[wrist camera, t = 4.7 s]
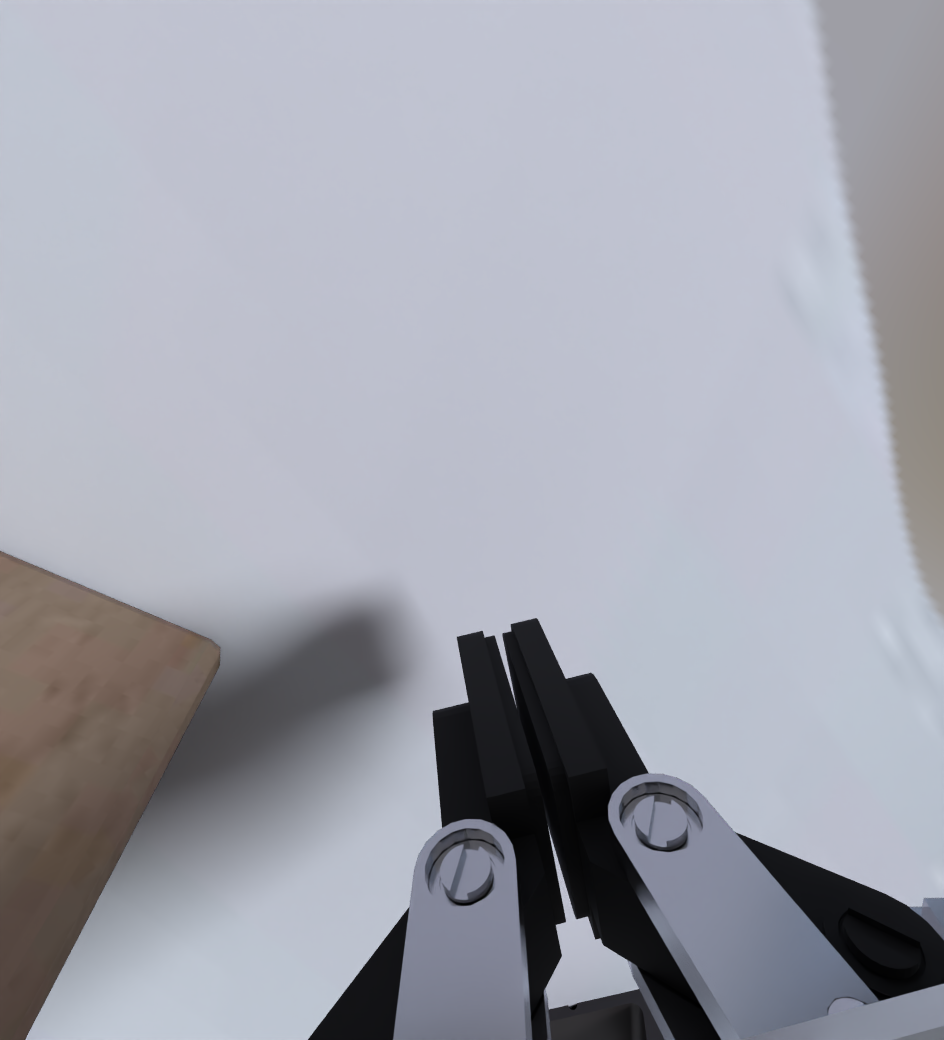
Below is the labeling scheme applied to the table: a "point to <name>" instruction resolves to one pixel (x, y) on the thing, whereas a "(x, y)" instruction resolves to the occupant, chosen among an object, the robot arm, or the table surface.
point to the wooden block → (76, 759)
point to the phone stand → (606, 1019)
